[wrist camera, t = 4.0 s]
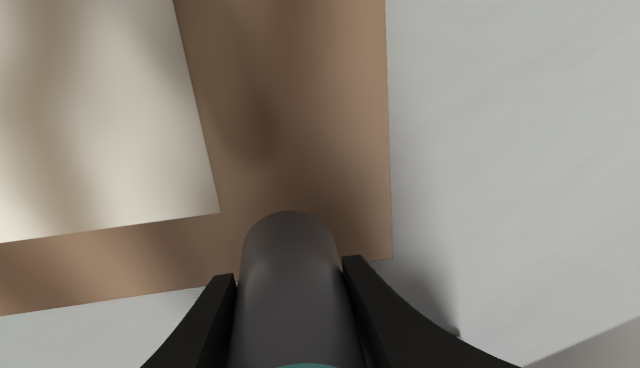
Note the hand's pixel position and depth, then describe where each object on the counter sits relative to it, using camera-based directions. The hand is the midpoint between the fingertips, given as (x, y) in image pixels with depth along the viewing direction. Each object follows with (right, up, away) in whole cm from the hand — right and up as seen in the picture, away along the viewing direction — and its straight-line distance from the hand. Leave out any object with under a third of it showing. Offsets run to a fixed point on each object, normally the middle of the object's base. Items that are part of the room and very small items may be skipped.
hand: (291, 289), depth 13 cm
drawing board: (-6, +7, +4) cm, 10 cm away
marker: (0, +1, +2) cm, 2 cm away
